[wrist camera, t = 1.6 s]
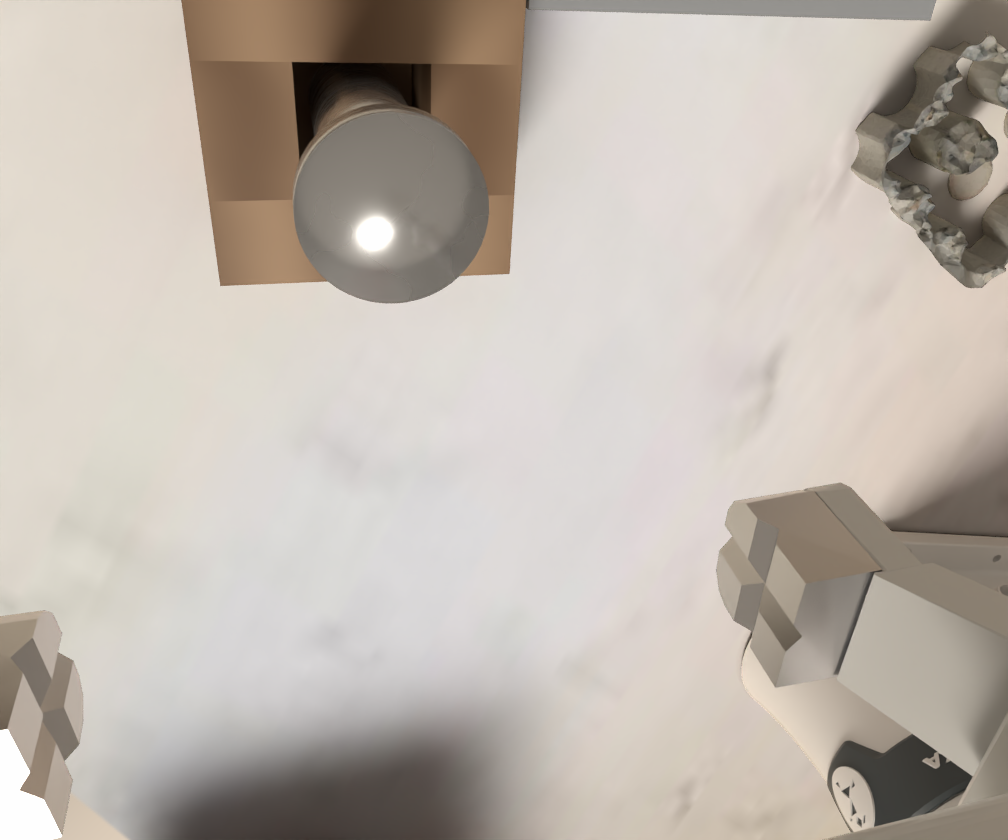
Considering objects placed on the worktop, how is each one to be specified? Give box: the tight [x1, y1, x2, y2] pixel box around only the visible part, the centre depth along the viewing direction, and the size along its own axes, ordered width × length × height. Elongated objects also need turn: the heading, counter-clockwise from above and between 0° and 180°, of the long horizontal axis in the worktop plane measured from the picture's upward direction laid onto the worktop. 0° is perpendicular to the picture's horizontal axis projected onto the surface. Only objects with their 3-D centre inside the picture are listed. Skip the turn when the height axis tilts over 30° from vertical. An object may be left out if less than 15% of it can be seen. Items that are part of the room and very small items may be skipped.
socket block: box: [181, 0, 526, 286], centre depth 30 cm, size 10×10×6 cm
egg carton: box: [851, 32, 1008, 288], centre depth 38 cm, size 11×8×4 cm
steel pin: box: [293, 62, 489, 303], centre depth 26 cm, size 5×5×12 cm
